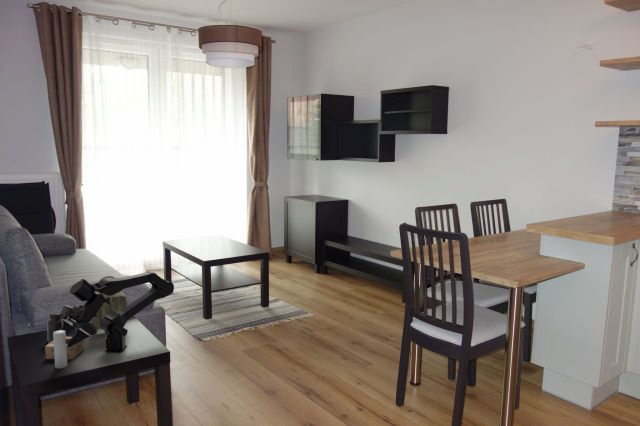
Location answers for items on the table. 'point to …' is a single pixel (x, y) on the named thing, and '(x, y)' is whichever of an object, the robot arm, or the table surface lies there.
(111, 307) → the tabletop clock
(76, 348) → the socket block
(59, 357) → the peg
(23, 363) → the table surface
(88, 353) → the table surface
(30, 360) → the table surface
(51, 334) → the supplement bottle
